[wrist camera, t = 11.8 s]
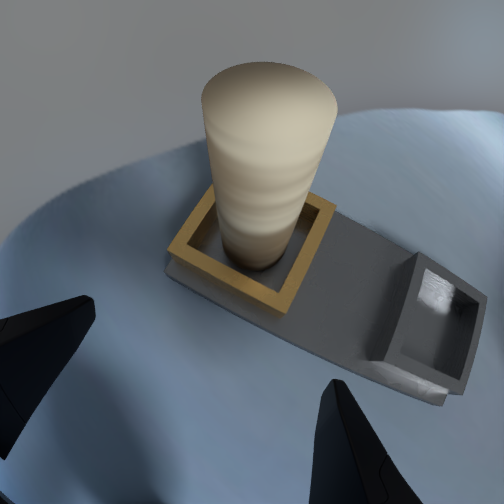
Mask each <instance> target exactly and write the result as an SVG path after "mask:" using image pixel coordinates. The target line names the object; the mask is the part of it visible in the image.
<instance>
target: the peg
mask: <svg viewBox="0 0 504 504" xmlns="http://www.w3.org/2000/svg"><path fill="white" fill-rule="evenodd" d="M201 101H202V109H203V117H204V125H205V131H206V139H207V147H208V154H209V161H210V168H211V175H212V181H213V188H214V194H215V201H216V207H217V214H218V220H219V226H220V232H221V239H222V245H223V249H224V252H225V254H226V256H227V257H228V258H229V260H230V261H231V262H232V263H234V264H235V265H236V266H238V267H240V268H242V269H245V270H250V271H261V270H265V269H268V268H270V267H272V266H273V265H275V264H276V263H277V262H279V260H280V259H281V258H282V256H283V255H284V253H285V250H286V248H287V245H288V243H289V240H290V238H291V235H292V233H293V230H294V228H295V225H296V223H297V220H298V218H299V215H300V213H301V210H302V207H303V205H304V202H305V200H306V197H307V194H308V192H309V189H310V187H311V184H312V181H313V179H314V176H315V173H316V171H317V168H318V165H319V163H320V160H321V157H322V155H323V152H324V149H325V147H326V144H327V141H328V138H329V136H330V133H331V130H332V127H333V124H334V122H335V119H336V116H337V102H336V99H335V97H334V95H333V94H332V92H331V90H330V89H329V88H328V87H327V86H326V85H325V84H324V83H323V82H322V81H321V80H319V79H318V78H317V77H315V76H314V75H312V74H310V73H308V72H306V71H304V70H301V69H299V68H296V67H293V66H290V65H286V64H281V63H274V62H251V63H244V64H240V65H236V66H233V67H230V68H228V69H225V70H223V71H222V72H220V73H218V74H217V75H215V76H214V77H213V78H212V79H211V80H210V81H209V82H208V83H207V84H206V86H205V87H204V90H203V93H202V99H201Z"/></svg>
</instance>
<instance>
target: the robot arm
mask: <svg viewBox="0 0 504 504" xmlns="http://www.w3.org/2000/svg"><path fill="white" fill-rule="evenodd" d="M95 317H96V313H95V304H94V300H93V299H92V298H91V297H89V296H87V295H82V296H78V297H75V298H71V299H68V300H65V301H61V302H58V303H54V304H51V305H48V306H44V307H41V308H37V309H34V310H31V311H27V312H24V313H21V314H17V315H14V316H10V317H9V318H8V317H7V318H4V319H0V457H1V458H2V459H3V460H5V459H6V458H7V456H8V454H9V452H10V451H11V449H12V447H13V445H14V444H15V442H16V440H17V439H18V437H19V435H20V434H21V432H22V430H23V429H24V427H25V425H26V423H27V422H28V420H29V419H30V417H31V415H32V414H33V412H34V411H35V409H36V408H37V406H38V405H39V403H40V402H41V400H42V399H43V397H44V396H45V394H46V393H47V391H48V390H49V388H50V387H51V385H52V384H53V382H54V381H55V380H56V378H57V377H58V375H59V374H60V372H61V371H62V370H63V368H64V367H65V365H66V364H67V363H68V361H69V360H70V359H71V357H72V356H73V354H74V353H75V352H76V350H77V349H78V347H79V346H80V344H81V342H82V340H83V339H84V337H85V335H86V334H87V332H88V330H89V329H90V327H91V325H92V324H93V322H94V320H95ZM0 504H15V503H13V502H12V501H11V500H10V499H9V498H8V497H7V496H6V495H4V494H3V493H2V492H1V491H0ZM309 504H423V503H422V502H421V500H420V499H419V498H418V497H417V495H416V494H415V493H414V491H413V490H412V489H411V487H410V486H409V485H408V483H407V482H406V481H405V479H404V478H403V477H402V475H401V474H400V472H399V471H398V469H397V468H396V466H395V464H394V463H393V461H392V460H391V458H390V456H389V455H387V451H386V450H385V448H384V446H383V445H382V443H381V441H380V440H379V438H378V436H377V435H376V433H375V431H374V430H373V428H372V426H371V425H370V423H369V421H368V420H367V418H366V416H365V415H364V413H363V411H362V410H361V408H360V406H359V405H358V403H357V402H356V400H355V398H354V397H353V395H352V393H351V392H350V390H349V388H348V387H347V385H346V383H345V382H344V381H343V380H338V379H332V380H331V381H330V383H329V384H328V386H327V387H326V389H325V390H324V392H323V394H322V396H321V401H320V408H319V413H318V419H317V425H316V430H315V438H314V453H313V465H312V477H311V487H310V497H309Z"/></svg>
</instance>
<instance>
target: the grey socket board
mask: <svg viewBox="0 0 504 504" xmlns="http://www.w3.org/2000/svg"><path fill="white" fill-rule="evenodd" d="M336 206H337V205H335V204H333V203H331V202H329V201H327V200H325V199H323V198H321V197H319V196H317V195H315V194H313V193H311V192H308V194H307V197H306V200H305V202H304V205H303V207H302V210H301V213H300V215H299V218H298V220H297V223H296V225H295V228H294V230H293V233H292V235H291V238H290V240H289V243H288V245H287V248H286V250H285V253H284V255H283V256H282V258H281V259H280V260H279V262H277V263H276V264H275V265H273V266H272V267H270V268H268V269H265V270H261V271H250V270H245V269H242V268H240V267H238V266H236V265H235V264H234V263H232V262H231V261H230V260H229V258H228V257H227V256H226V254H225V252H224V249H223V245H222V239H221V232H220V226H219V220H218V214H217V207H216V201H215V194H214V188H213V183H212V184H211V186H210V187H209V189H208V190H207V191H206V193H205V194H204V196H203V197H202V198H201V200H200V201H199V203H198V204H197V206H196V207H195V208H194V210H193V211H192V213H191V214H190V216H189V217H188V219H187V220H186V221H185V223H184V224H183V226H182V227H181V229H180V230H179V232H178V233H177V235H176V236H175V238H174V239H173V241H172V242H171V244H170V245H169V247H168V248H167V251H168V252H169V254H170V255H171V257H172V259H171V261H170V262H169V264H168V265H167V267H166V268H165V270H164V273H165V274H166V275H167V276H168V277H169V278H171V279H172V280H174V281H176V282H178V283H179V284H181V285H183V286H184V287H186V288H188V289H190V290H191V291H193V292H195V293H196V294H198V295H200V296H202V297H203V298H205V299H207V300H209V301H211V302H212V303H214V304H216V305H218V306H220V307H221V308H223V309H225V310H227V311H229V312H231V313H232V314H234V315H236V316H238V317H240V318H242V319H244V320H245V321H247V322H249V323H251V324H253V325H255V326H257V327H259V328H261V329H263V330H265V331H266V332H268V333H270V334H272V335H274V336H276V337H278V338H280V339H282V340H284V341H286V342H288V343H290V344H292V345H294V346H296V347H298V348H301V349H303V350H305V351H307V352H309V353H311V354H313V355H315V356H317V357H319V358H322V359H324V360H326V361H328V362H330V363H332V364H334V365H337V366H339V367H341V368H343V369H346V370H348V371H350V372H352V373H355V374H357V375H359V376H361V377H364V378H366V379H368V380H371V381H373V382H376V383H378V384H380V385H383V386H385V387H388V388H390V389H392V390H395V391H397V392H400V393H402V394H405V395H408V396H410V397H413V398H415V399H418V400H421V401H423V402H426V403H429V404H431V405H436V406H443V404H444V401H445V399H446V396H447V394H452V395H463V393H464V390H465V387H466V384H467V381H468V378H469V375H470V372H471V368H472V365H473V361H474V358H475V354H476V350H477V347H478V342H479V338H480V334H481V329H482V325H483V320H484V314H485V309H486V303H487V296H485V295H484V294H482V293H481V292H480V291H478V290H477V289H475V288H474V287H472V286H471V285H470V284H468V283H467V282H465V281H464V280H462V279H461V278H459V277H458V276H456V275H455V274H453V273H452V272H450V271H449V270H447V269H446V268H444V267H443V266H441V265H439V264H438V263H436V262H435V261H433V260H432V259H430V258H428V257H427V256H425V255H424V254H422V253H420V252H417V253H416V254H414V255H413V254H411V253H409V252H408V251H406V250H404V249H403V248H401V247H399V246H398V245H396V244H394V243H392V242H391V241H389V240H387V239H385V238H384V237H382V236H380V235H378V234H377V233H375V232H373V231H371V230H369V229H368V228H366V227H364V226H362V225H360V224H358V223H357V222H355V221H353V220H351V219H349V218H347V217H345V216H343V215H341V214H340V213H338V212H336V211H335V209H336Z"/></svg>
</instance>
